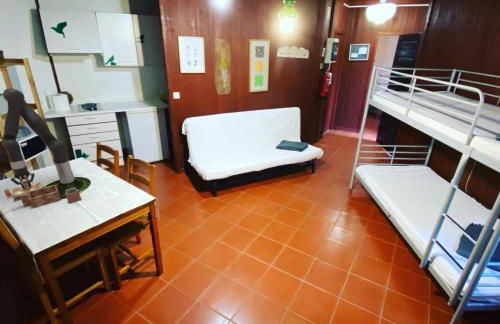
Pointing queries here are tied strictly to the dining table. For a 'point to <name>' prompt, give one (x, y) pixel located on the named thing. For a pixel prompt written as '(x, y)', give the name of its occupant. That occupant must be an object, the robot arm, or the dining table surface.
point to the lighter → (72, 195)
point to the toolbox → (41, 196)
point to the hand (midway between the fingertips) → (27, 187)
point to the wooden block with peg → (9, 195)
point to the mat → (19, 197)
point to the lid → (27, 187)
